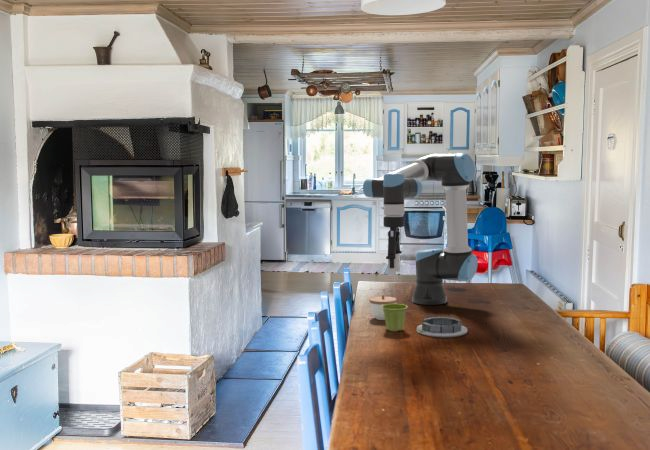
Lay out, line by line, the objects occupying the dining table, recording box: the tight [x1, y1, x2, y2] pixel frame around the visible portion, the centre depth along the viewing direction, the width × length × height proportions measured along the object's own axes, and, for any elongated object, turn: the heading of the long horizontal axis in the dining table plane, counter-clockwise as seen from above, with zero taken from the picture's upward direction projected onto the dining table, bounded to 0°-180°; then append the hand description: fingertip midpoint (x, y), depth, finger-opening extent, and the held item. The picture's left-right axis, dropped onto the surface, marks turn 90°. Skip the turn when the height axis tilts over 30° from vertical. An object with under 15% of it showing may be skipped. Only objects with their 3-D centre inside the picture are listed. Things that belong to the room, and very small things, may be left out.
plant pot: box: [382, 303, 409, 332], centre depth 246 cm, size 9×9×9 cm
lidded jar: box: [368, 294, 398, 321], centre depth 265 cm, size 11×11×9 cm
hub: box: [416, 316, 468, 338], centre depth 243 cm, size 18×18×4 cm
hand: (394, 274), depth 245 cm, fingers open, 13 cm apart
